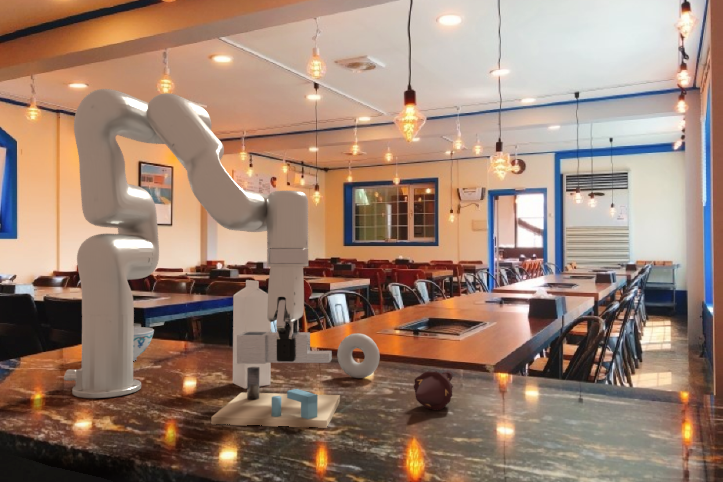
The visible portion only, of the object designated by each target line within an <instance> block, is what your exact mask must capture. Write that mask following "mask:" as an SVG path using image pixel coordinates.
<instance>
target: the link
mask: <svg viewBox="0 0 723 482" xmlns="http://www.w3.org/2000/svg"><path fill="white" fill-rule="evenodd" d="M293 339H295V360H294V361H293V362H279V361H277V331H276V332H273V331H271V332H243V333H241V334H239V335H237V364H266V363H272V364H273V363H277V364H278V363H279V364H280V363H285V364H286V363H289V364H292V363H293V364H294V363H296V364H298V363H299V364H300V363H301V364H302V363H303V364H307V363H308V364H309V363H310V364H311V363H313V364H315V363H316V364H317V363H318V364H319V363H321V364H322V363H323V364H326V363H327V364H329V363H331V361H333V360H332V359H333V358H332V357H333V354H332V350H311V332H307V331H305V332H304V331H303V332H300V331H299V332H293Z"/></svg>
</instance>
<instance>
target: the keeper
mask: <svg viewBox="0 0 723 482" xmlns="http://www.w3.org/2000/svg"><path fill="white" fill-rule="evenodd" d="M286 394H287V398H289V399H292V400H295V401H299V402H301V417H302V418H305V419H311V418H315V417H317V401H318V395H319V394H316V393H313V392H309V391H306V390H302V389H298V388H293V389H291V390H290V389H289V390H287V391H286ZM271 416H272V417H279V416H281V396H273V397H272V415H271Z"/></svg>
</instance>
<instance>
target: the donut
mask: <svg viewBox="0 0 723 482" xmlns="http://www.w3.org/2000/svg"><path fill="white" fill-rule="evenodd" d="M337 347H338V348H337V354H336V357H337V361H338V364H339V366H340V368H341V369H342V370H343V372H344V373H345V374H346V375H348V376H349V377H351V378H355V379H363V378H364V379H365V378H368V377H369V376H371V375H372V374H374V372H375V371H376V370H377V369H378V366H379V364H380V355H381V354H380V349H379V347H378V346H377V343H376V342H375V341H374V340H373V338H371V337H370V336H369V335H366V334H364V333H351V334H349V335H348V336H347V335H346V336H345V337H344V338H343V339H342V341H340V343H339V346H337ZM355 349H359V350H360V351H362V352H363V355H364V359H363V361H361V362H357V361H356V360H355V359H354V357H353V352H354V350H355Z"/></svg>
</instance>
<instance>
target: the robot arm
mask: <svg viewBox="0 0 723 482" xmlns="http://www.w3.org/2000/svg"><path fill="white" fill-rule="evenodd" d="M73 134H74V139H75V144H76V149H77V154H78V155H77V156H78V163H79V164H78V165H79V167H78V169H79V182H80V198H81V208H82V209H81V211H82V215H83V216H84V218H85V221H87V222H88V223H89V224H90V225H93V226H96V227H100V228H101V227H102V228H110V229H111V228H113V229H117V233H98V234H95V235H92V236H89V237H87V238H86V239H85V240H84V241H83V242H82V243H81V245H79V248H78V250H77V255H76V262H77V263H76V265H77V269H78V271H77V272H78V274H79V275H78V276H79V282H80V287H81V316H82V317H81V367H80V368H79V369H67V370H66V371H65V373H64V376H63V380H64V381H69V382H72V381H74V382H75V386H73V387H72V391H71V393H72V395H73V396H75V397H78V398H85V399H104V398H115V397H121V396H126V395H129V394H132V393H135V392H138V391H139V390H140V389H141V388H142V382H141V381H140V380H138V379H135V378H134V362H133V337H134V327H135V326H134V322H135V321H134V320H135V319H134V317H135V314H134V313H135V312H134V311H135V309H134V308H135V306H134V305H135V303H134V296H133V293H132V289H131V286H130V285H129V282H128V281H129V280H139V279H143V278H146V277H148V276H150V275H151V274H153V272H155V270H156V269H157V266H158V264H159V259H160V243H159V242H160V241H159V230H158V228H159V227H158V216H157V208H156V203H155V201H154V199H153V197H152V195H151V194H150V193H149V192H148V191H147V190H146V189H145V188H143V187H141V186H139V185H135V184H129V183H128V180H127V174H126V161H125V156H124V154H123V151H122V150H121V147H120V145H119V143H118V141H117V136H119V137H123V138H127V139H130V140H133V141H136V142H139V143H140V142H141V143H145V144H151V145H152V144H156V145H157V144H158V145H166V146H167V147H168V150H170V151H171V153H173V155H174V157H175V158H176V159H177V160H178V162H179V163H180V164H181V165H182V167H184V170H185V171H186V174H187V175H186V176H187V179H188V184H189V186H190V188H191V191H192V193H193V195H194V196H195V198H196V199H197V201H198V202H199V204H201V206H202V207H203V208H204V209H205V211H206V212H207V213H208V214H209V215H210V217H211V218H212V219H213V220H214V221H215V222H216V223H217V224H219V225H220V226H221V227H223V228H224V229H226V230H229V231H235V232H237V231H238V232H246V233H247V232H248V233H261V232H266V246H267V247H266V263H267V264H266V265H267V266H266V267H269V268H270V269H269V274H268V275H269V277H268V289H267V294H268V309H267V319H268V321H270V322H271V323H273V322H275V321H276V324H275V326H276V332H277V361H279V362H293V361H294V360H295V339H293V332H300V330H299V329H300V327H299V326H300V323H299V320H300V319H301V318H302V317H303V316H304V308H305V306H304V305H305V288H304V287H305V285H304V281H305V280H304V277H305V276H304V267H309V198H308V196H307V194H306V193H304V192H303V191H298V190H275V191H271V192H270V193H269V194H266V193H259V192H255V191H252V190H247V189H243V188H241V187H240V186H239V185H238V184H237V182H236V181H235V180H234V179H233V178H232V177H231V175H230V174H229V173H228V172H227V170H226V169H225V167H224V166H223V165H222V162H221V159H222V158H223V155H224V153H225V147H224V144H223V143H222V142H221V140H220V139H219V138H218V137H217V136H216V134H215V133H214V132H213V131H212V120H211V116H210V114H209V113H208V112H207V110H205V108H204V107H203V106H202V105H200V104H198V103H196V102H194V101H191V100H189V99H187V98H185V97H183V96H180V95H178V94H176V93H169V92H165V93H160V94H157V95H155V96H154V97H153V98H151V99H150V100H149V102H148V101H145V100H142V99H140V98H137V97H135V96H133V95H131V94H128V93H125V92H122V91H119V90H116V89H110V88H101V89H100V88H99V89H96V90H93V91H92V92H90V93H88V94H86V96H85V97H83V99H82V100H81V101H80V103H79V105H78V106H77V108H76V111H75V114H74V121H73Z"/></svg>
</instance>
